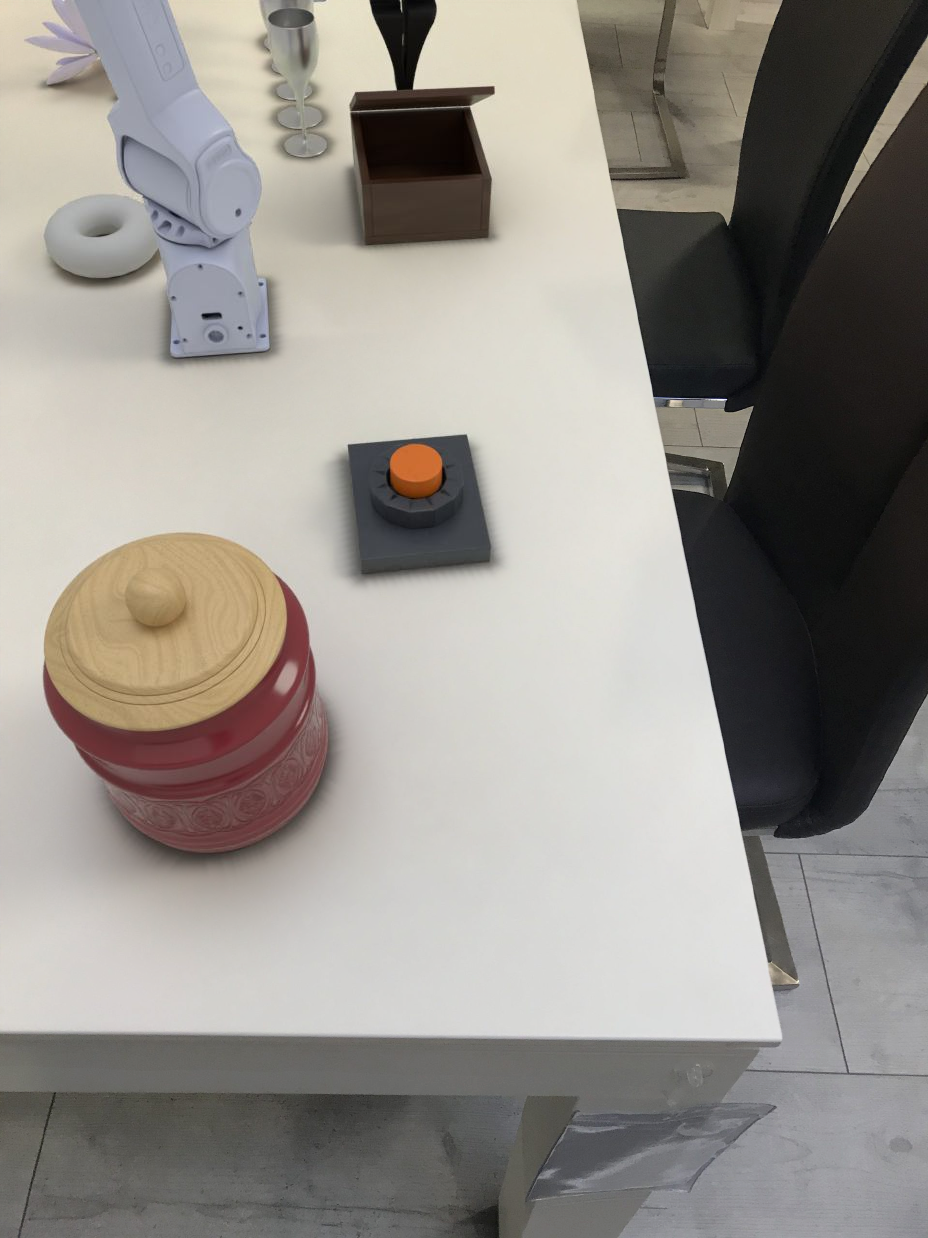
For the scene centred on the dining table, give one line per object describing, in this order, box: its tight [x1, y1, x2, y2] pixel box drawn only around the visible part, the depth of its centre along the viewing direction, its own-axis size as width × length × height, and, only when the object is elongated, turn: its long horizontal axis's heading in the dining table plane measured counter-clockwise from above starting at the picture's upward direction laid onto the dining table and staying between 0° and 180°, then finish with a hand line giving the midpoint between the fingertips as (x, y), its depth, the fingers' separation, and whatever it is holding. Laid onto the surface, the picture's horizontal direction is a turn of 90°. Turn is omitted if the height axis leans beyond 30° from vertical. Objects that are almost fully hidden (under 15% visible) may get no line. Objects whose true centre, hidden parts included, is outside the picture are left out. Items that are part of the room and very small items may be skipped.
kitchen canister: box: [42, 532, 329, 854], centre depth 48 cm, size 13×13×18 cm
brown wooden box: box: [349, 106, 493, 246], centre depth 86 cm, size 13×12×6 cm
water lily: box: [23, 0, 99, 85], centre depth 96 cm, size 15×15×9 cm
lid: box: [349, 85, 496, 112], centre depth 81 cm, size 13×12×1 cm
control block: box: [347, 433, 492, 575], centre depth 65 cm, size 11×9×4 cm
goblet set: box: [258, 0, 328, 158], centre depth 95 cm, size 28×6×13 cm, turn 12°
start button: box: [390, 444, 442, 498], centre depth 63 cm, size 4×4×2 cm
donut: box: [43, 193, 159, 279], centre depth 81 cm, size 10×4×10 cm
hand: (403, 86), depth 81 cm, fingers closed
